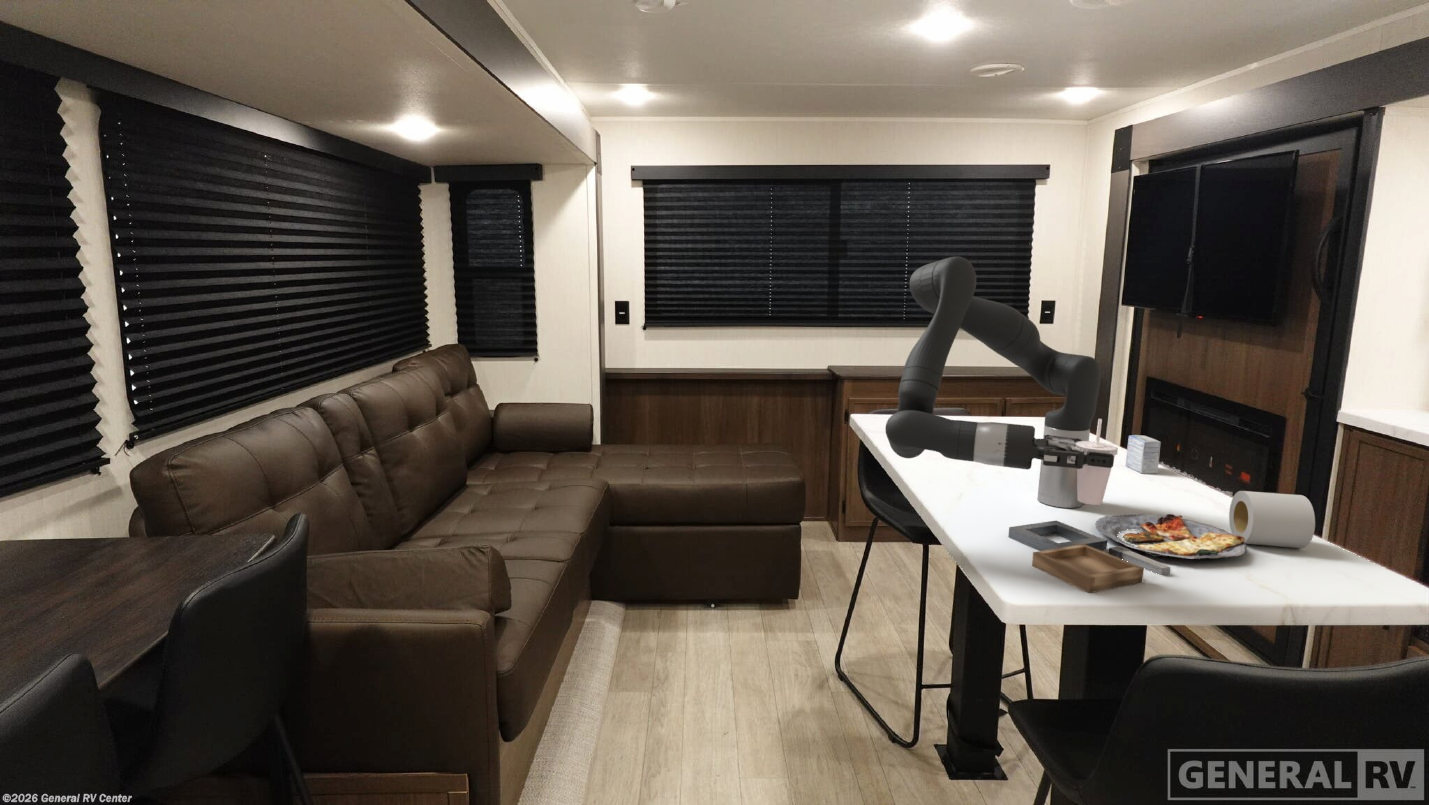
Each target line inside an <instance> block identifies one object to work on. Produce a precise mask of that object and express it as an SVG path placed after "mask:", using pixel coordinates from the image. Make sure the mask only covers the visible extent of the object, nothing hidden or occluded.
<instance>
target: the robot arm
mask: <svg viewBox="0 0 1429 805" xmlns="http://www.w3.org/2000/svg"><path fill="white" fill-rule="evenodd" d="M976 287H977V274H976V270H975V268H974V266H973V265H972V263H971V262H970V261H969V260H968V259H967V258H964V257H962V256H949V257H946V258H943V259H940V260H937V261H934V262H931V263H927V264H925V265H923V266H920V267H918V268H917V269H915V271H914V272H913V273H912V274H911V276H910V279H909V290H910V292H911V295H912V297H913V299H914V300H915V302H916V303H917V304H918V305H919V306H920V307H921V308H922V309H923V310H926V311H927V312H928V313H931V314H933V317H932V319H931V321H930V322H929V324H928V326H927V327H926V328H925V331H924V332H923V333H922V334H921V336H920V338H918V340H917V342H916V343H915V344H914V346H913V347H912V349H911V351H910V352H909V355H908V356H907V359H906V361H905V364H904V368H903V370H902V376H901V379H900V383H899V386H898V394H897V396H898V405H897V409H896V410H897V411H896V412H894V413H893V414H892V415H890V417H889V418H888V420H887V421H886V423H885V436H886V437H887V440H888V442H889V446H890V448H891V449H892V451H893V452H894V453H895V454H896V455H897V456H899V457H901V458H903V459H914V458H916V457H919V456H920V455H921V454H923V452H925V451H930V452H937V453H939V454H940V455H942V456H943V457H945V458H947V459H951V460H956V461H957V460H958V461H965V462H966V461H967V462H974V463H979V464H982V465H983V464H984V465H988V466H995V467H1003V468H1009V469H1010V468H1011V469H1020V470H1030V469H1031V468H1032V465H1033V460H1034V459H1036V460H1040V466H1039V478H1038V489H1037V498H1036V499H1037V500H1038V501H1039V502H1040V503H1042V504H1045V505H1047V506H1052V507H1056V508H1065V509H1066V508H1068V509H1071V508H1072V509H1073V508H1080V507H1082V506H1083V505H1084V504H1085V503H1082V502H1079V501H1078V493H1077V469H1082V468H1083V467H1086V466H1087V465H1088V466H1097V467H1105V468H1111V469H1112V468H1113V467H1114V463H1115V462H1114V460H1115V457H1114V456H1113V454H1108V453H1099V452H1090V451H1089V453H1088V451H1086V450H1080V449H1076V448H1075V445H1076V443H1077V442H1080V441H1090V435H1091V434H1090V433H1091V425H1092V422H1093V419H1094V417H1095V415H1096V410H1097V404H1098V399H1099V398H1098V397H1099V392H1100V386H1101V377H1102V376H1101V372H1102V371H1101V366H1100V364H1099V361H1097V359H1096V358H1094V357H1093V356H1089V355H1083V354H1075V353H1074V354H1073V353H1067V352H1061V351H1058V350H1055V349H1054V348H1051V347H1050V346H1048V345H1047V344H1046V343H1044V342H1043V341H1042V340H1041V335H1040V332H1039V329H1038V328H1037V325H1036V324H1035V323H1034V322H1033V321H1032V320H1031V319H1029V318H1028V317H1027V316H1026V315H1024V314H1022V313H1021V312H1020V311H1019V310H1017V309H1016V308H1014V307H1012V306H1010V305H1008V304H1005V303H1001V302H997V301H995V300H989V299H986V298H982V297H977V296H974V294H975V291H976ZM960 329H961V330H963V331H964V332H966V333H967V334H969V335H970V336H971V337H972V338H975V339H976V340H977V341H980V342H981V343H983V345H985V346H986V347H987V348H989V349H991V350H992V351H993V352H995V353H996V354H998V355H999V356H1001V357H1002V358H1005V359H1006V360H1007V361H1009V362H1011V363H1012V364H1014V365H1015V366H1017V367H1018V368H1020V369H1022V370H1023V371H1025V372H1026V373H1027V374H1028V375H1029V376H1030V377H1032V379H1033V380H1035V381H1036V382H1037V383H1038V384H1039V385H1040V386H1041V387H1043V389H1045V391H1048V392H1050V393H1052V394H1054V395H1058V396H1059V395H1060V396H1064V397H1065V399H1064V403H1063V406H1061V407H1060V408H1059V409H1054V410H1049V411H1047V412H1046V414H1045V416H1044V424H1043V425H1044V426H1043V437H1042V438H1036V437H1035V434H1036V428H1035V427H1034V425H1025V424H1015V423H1006V422H995V421H993V422H992V421H982V422H981V421H979V422H978V421H970V420H961V419H960V420H959V419H956V420H955V419H949V418H946V417H943V416H940V415H938V414H937V415H936V414H934V411H935V410H934V409H935V404H936V400H937V397H938V394H939V390H940V386H941V382H942V380H943V379H942V378H943V375H944V370H945V366H946V364H947V359H948V356H949V354H950V351H951V349H952V346H953V345H954V344H953V343H954V341H955V339H956V337H957V335H958V332H959V331H960Z"/></svg>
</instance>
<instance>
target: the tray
mask: <svg viewBox="0 0 1429 805" xmlns="http://www.w3.org/2000/svg"><path fill="white" fill-rule="evenodd" d="M1031 566H1032V567H1033V568H1036V569H1038V570H1040V571H1042V572H1044V573H1046V574H1049V575H1050V576H1053V577H1055V578H1057V579H1058V580H1060V581H1063V582H1065V583H1067V584H1070V585H1071V586H1073V587H1075V588H1077V589H1080V590H1082V591H1084V592H1086V593H1088V594H1090V593H1091V594H1092V593H1095V592H1096V593H1097V592H1100V591H1106V590H1111V589H1116V588H1121V587H1126V586H1132V585H1136V584H1142V583H1143V578H1144V572H1145V571H1144V570H1145V569H1144V568H1142V567H1140V566H1137V565H1135V564H1132V563H1130V562H1127V561H1125V560H1122V559H1120V558H1117V557H1115V556H1112V555H1110V554H1108V553H1107V552H1106V551H1100V550H1098V549H1095V548H1093V547H1090V546H1088V545H1085V544H1082V545H1075V546H1069V547H1063V548H1057V549H1051V550H1044V551H1039V550H1037V551H1033V552H1032V560H1031Z"/></svg>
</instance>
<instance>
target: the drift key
mask: <svg viewBox="0 0 1429 805" xmlns="http://www.w3.org/2000/svg"><path fill="white" fill-rule="evenodd" d="M1107 554H1110V555H1112V556H1115V557H1117V558H1120V559H1123V560H1125V561H1128V562H1130V563H1132V564H1135V565H1137V566H1140V567H1142V568H1145V569H1144V570H1146V571H1149V572H1151V571H1152V572H1151V573H1153V574H1156V573H1157V574H1156V575H1158V574H1159V575H1158V576H1160V575H1163V576H1167V575H1166V574H1169V575H1171V566H1170V565H1167V564H1165V563H1162V562H1160V561H1158V560H1155V559H1152V558H1149V557H1148V556H1144V555H1141V554H1139V553H1137V552H1135V551H1132V549H1129V548H1126V547H1124V546H1121V545H1118V546H1112V547H1108V553H1107Z"/></svg>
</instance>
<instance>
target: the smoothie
mask: <svg viewBox="0 0 1429 805" xmlns="http://www.w3.org/2000/svg"><path fill="white" fill-rule="evenodd" d="M1102 422H1103V419H1102V418H1098V420H1097V426H1096V428H1097V429H1096V434H1095V435H1096V437H1095V440H1094V441H1092V440H1091V441H1090V440H1089V441H1080V442H1077V443H1076V445H1075V448H1076V449H1080V450H1086V451H1088V453H1089V451H1090V452H1099V453H1108V454H1113V456H1114V458H1115V456H1117V455H1118V451H1119V447H1117V446H1116V445H1114V444H1110V443H1107V442H1103V441H1102V442H1101V441H1100V440H1101V439H1100V438H1101V431H1102V424H1103V423H1102ZM1111 471H1112V468H1105V467H1097V466H1088V465H1087V466H1086V467H1083V468H1082V469H1077V493H1078V501H1079V502H1082V503H1085V504H1086V505H1093V506H1098V505H1103V500H1104V496H1105V494H1106V490H1107V485H1108V482H1109V478H1110V476H1111Z"/></svg>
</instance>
